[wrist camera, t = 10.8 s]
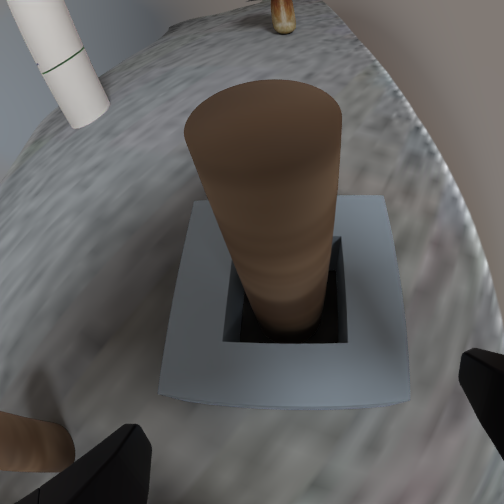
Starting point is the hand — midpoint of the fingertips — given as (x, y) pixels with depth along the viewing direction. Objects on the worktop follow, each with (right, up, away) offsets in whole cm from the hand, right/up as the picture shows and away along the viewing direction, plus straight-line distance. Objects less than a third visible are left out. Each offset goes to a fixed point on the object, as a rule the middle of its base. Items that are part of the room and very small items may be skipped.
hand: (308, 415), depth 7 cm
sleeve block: (+1, 0, +12) cm, 12 cm away
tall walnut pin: (+1, 0, +12) cm, 12 cm away
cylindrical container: (-26, +25, +33) cm, 49 cm away
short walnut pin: (-16, -10, +9) cm, 21 cm away
